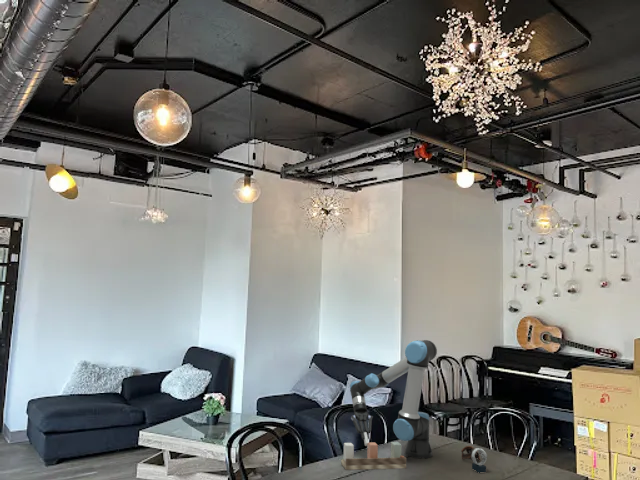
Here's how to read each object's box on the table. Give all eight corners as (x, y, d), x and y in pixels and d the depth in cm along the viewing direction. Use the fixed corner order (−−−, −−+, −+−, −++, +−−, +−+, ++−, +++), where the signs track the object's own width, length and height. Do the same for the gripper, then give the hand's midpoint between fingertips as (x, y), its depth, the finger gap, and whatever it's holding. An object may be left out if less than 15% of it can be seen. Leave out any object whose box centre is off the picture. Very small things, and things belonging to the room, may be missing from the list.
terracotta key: (374, 458, 249) (374, 442, 251) (377, 461, 245) (377, 445, 246) (367, 458, 249) (367, 442, 250) (370, 461, 244) (370, 445, 245)
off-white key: (350, 458, 247) (351, 442, 248) (353, 461, 242) (353, 445, 243) (343, 458, 246) (343, 442, 247) (345, 462, 241) (346, 445, 243)
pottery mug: (483, 464, 256) (477, 451, 255) (467, 470, 257) (461, 457, 256) (477, 451, 267) (471, 439, 267) (462, 458, 268) (456, 445, 268)
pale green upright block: (397, 457, 252) (398, 442, 253) (401, 460, 247) (401, 444, 248) (390, 457, 251) (391, 442, 252) (393, 460, 246) (394, 444, 247)
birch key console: (399, 461, 252) (399, 450, 253) (406, 468, 242) (406, 456, 243) (341, 463, 246) (341, 451, 247) (346, 470, 236) (346, 457, 237)
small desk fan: (489, 472, 241) (488, 449, 243) (476, 473, 239) (476, 450, 240) (482, 468, 246) (481, 446, 248) (469, 469, 244) (469, 447, 245)
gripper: (368, 409, 278) (376, 448, 259) (347, 409, 276) (353, 448, 257) (371, 402, 273) (379, 440, 255) (350, 402, 271) (356, 441, 253)
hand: (366, 444), depth 256 cm, fingers closed
